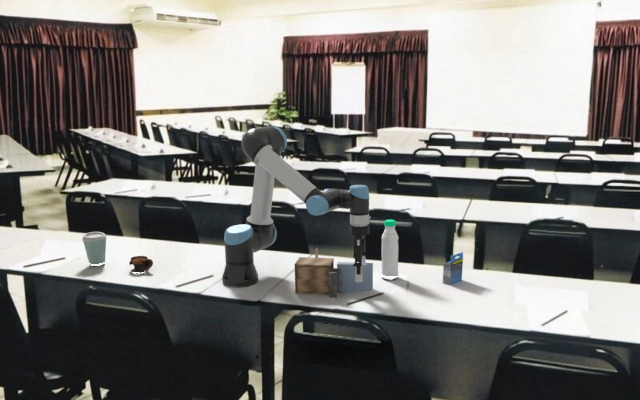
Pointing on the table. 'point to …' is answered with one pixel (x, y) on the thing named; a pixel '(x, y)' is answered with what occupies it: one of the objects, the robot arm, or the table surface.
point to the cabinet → (316, 276)
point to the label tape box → (453, 269)
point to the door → (348, 277)
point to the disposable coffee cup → (95, 246)
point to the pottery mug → (141, 263)
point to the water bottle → (390, 249)
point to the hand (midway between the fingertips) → (360, 276)
